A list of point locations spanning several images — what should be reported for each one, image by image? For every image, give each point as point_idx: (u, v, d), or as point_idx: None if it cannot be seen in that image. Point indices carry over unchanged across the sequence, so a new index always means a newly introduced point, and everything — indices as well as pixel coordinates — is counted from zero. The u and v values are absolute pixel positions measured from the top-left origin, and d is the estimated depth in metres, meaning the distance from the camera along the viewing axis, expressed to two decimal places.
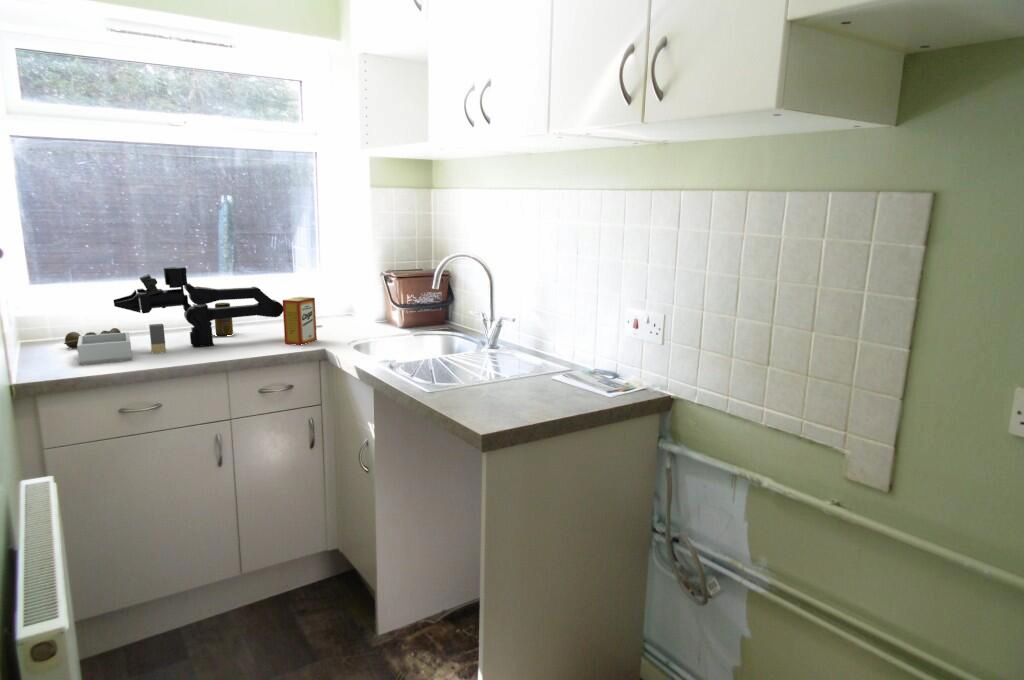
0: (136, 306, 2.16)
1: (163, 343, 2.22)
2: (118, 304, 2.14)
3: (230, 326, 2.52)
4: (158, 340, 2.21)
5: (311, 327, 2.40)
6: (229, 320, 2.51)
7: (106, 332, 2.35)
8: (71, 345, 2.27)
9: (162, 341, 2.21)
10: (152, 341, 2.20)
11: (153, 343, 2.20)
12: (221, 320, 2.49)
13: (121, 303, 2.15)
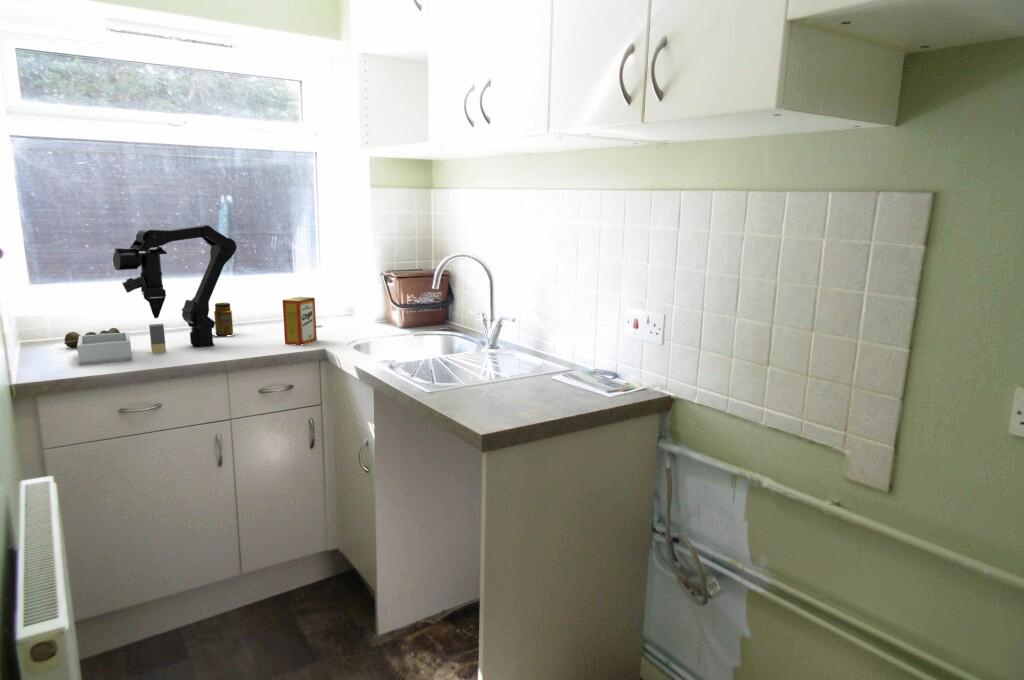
0: (158, 299, 2.15)
1: (163, 343, 2.22)
2: (155, 314, 2.16)
3: (230, 326, 2.52)
4: (158, 340, 2.21)
5: (311, 327, 2.40)
6: (229, 320, 2.51)
7: (105, 332, 2.35)
8: (71, 345, 2.27)
9: (162, 341, 2.21)
10: (152, 341, 2.20)
11: (153, 343, 2.20)
12: (221, 320, 2.49)
13: (155, 312, 2.16)
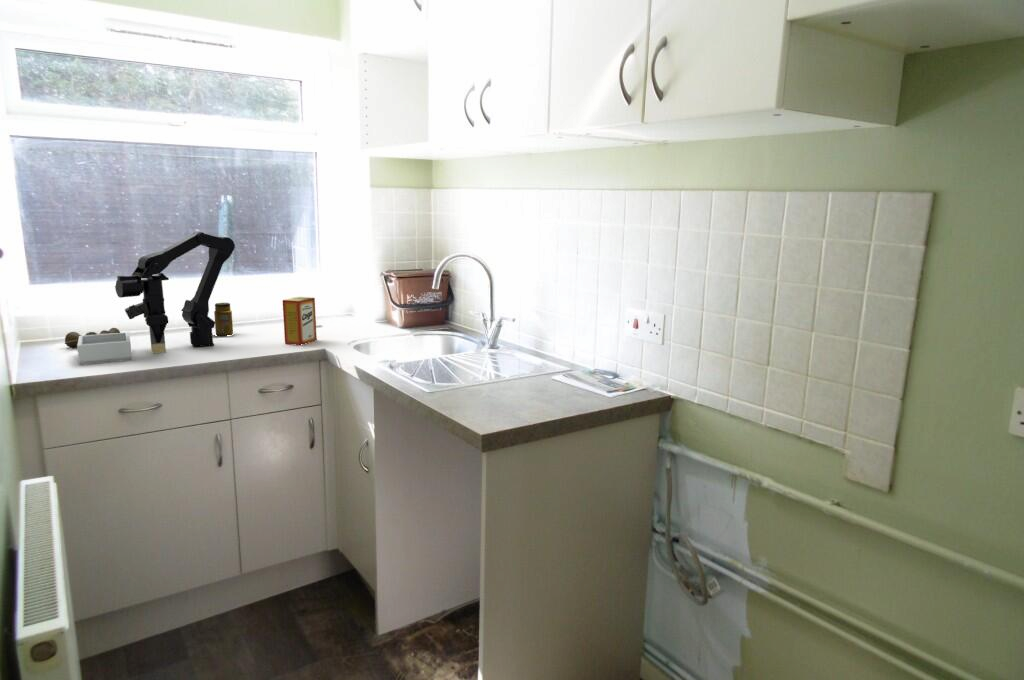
0: (160, 324, 2.19)
1: (163, 343, 2.22)
2: (158, 339, 2.20)
3: (230, 326, 2.52)
4: None
5: (311, 327, 2.40)
6: (229, 320, 2.51)
7: (106, 332, 2.35)
8: (71, 345, 2.27)
9: (162, 341, 2.21)
10: (152, 341, 2.20)
11: (153, 343, 2.20)
12: (221, 320, 2.49)
13: (157, 337, 2.20)
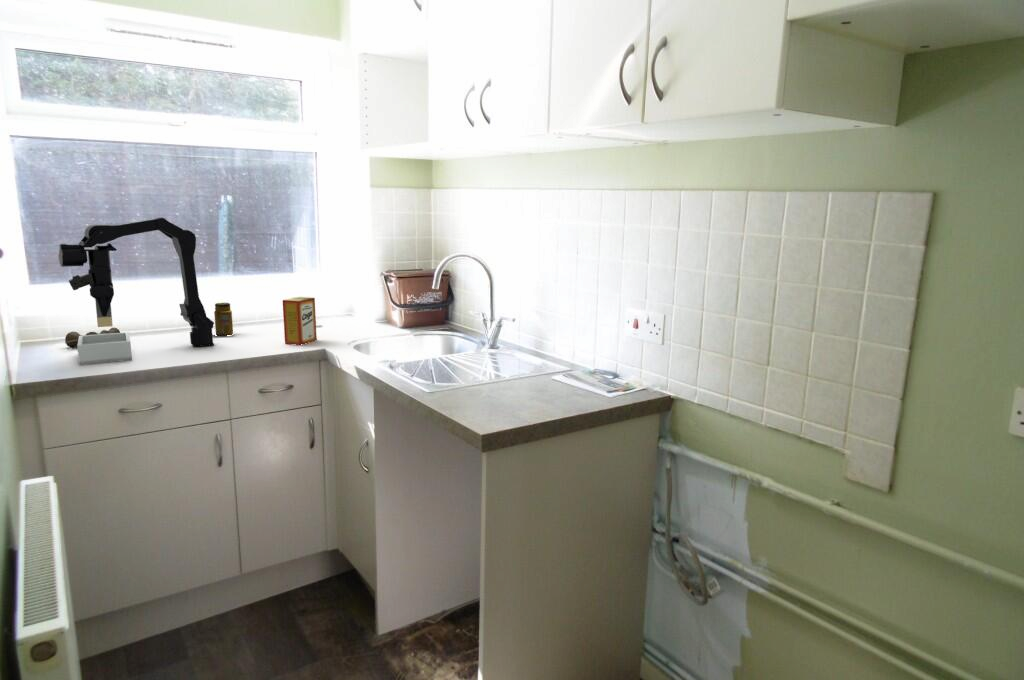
0: (106, 297, 2.09)
1: (109, 316, 2.12)
2: (103, 312, 2.10)
3: (230, 326, 2.52)
4: None
5: (311, 327, 2.40)
6: (229, 320, 2.51)
7: (106, 332, 2.36)
8: (71, 345, 2.28)
9: (108, 314, 2.11)
10: (97, 314, 2.10)
11: (99, 316, 2.10)
12: (221, 320, 2.49)
13: (103, 310, 2.10)
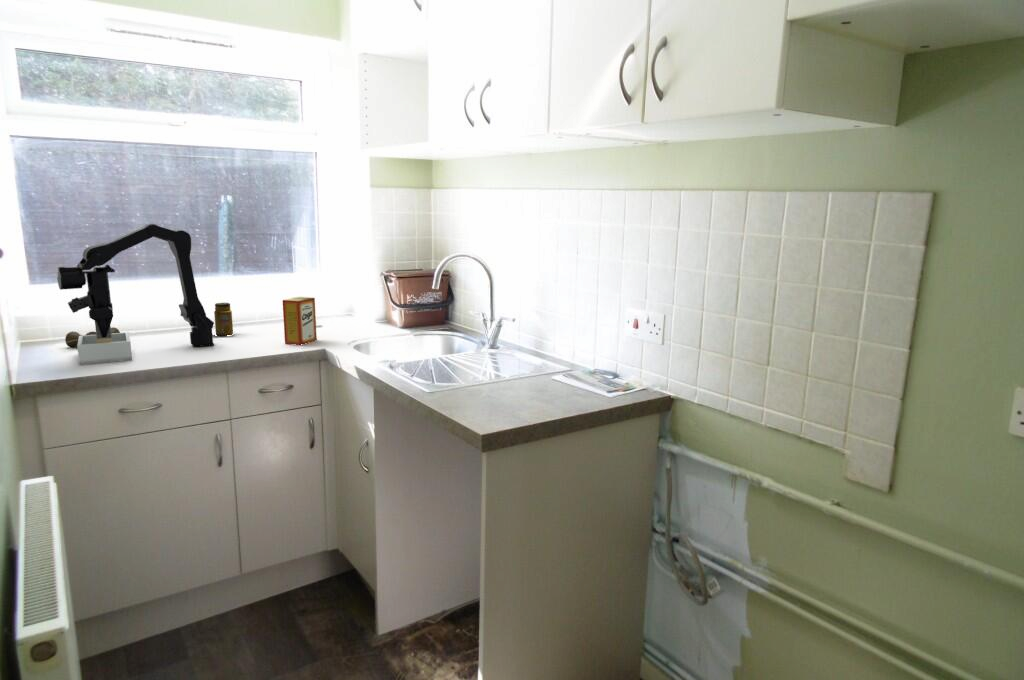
0: (105, 318, 2.10)
1: (109, 337, 2.12)
2: (103, 333, 2.11)
3: (230, 326, 2.52)
4: None
5: (311, 327, 2.40)
6: (229, 320, 2.51)
7: None
8: (71, 345, 2.28)
9: (108, 335, 2.12)
10: (97, 335, 2.11)
11: (98, 337, 2.11)
12: (221, 320, 2.49)
13: (102, 331, 2.11)
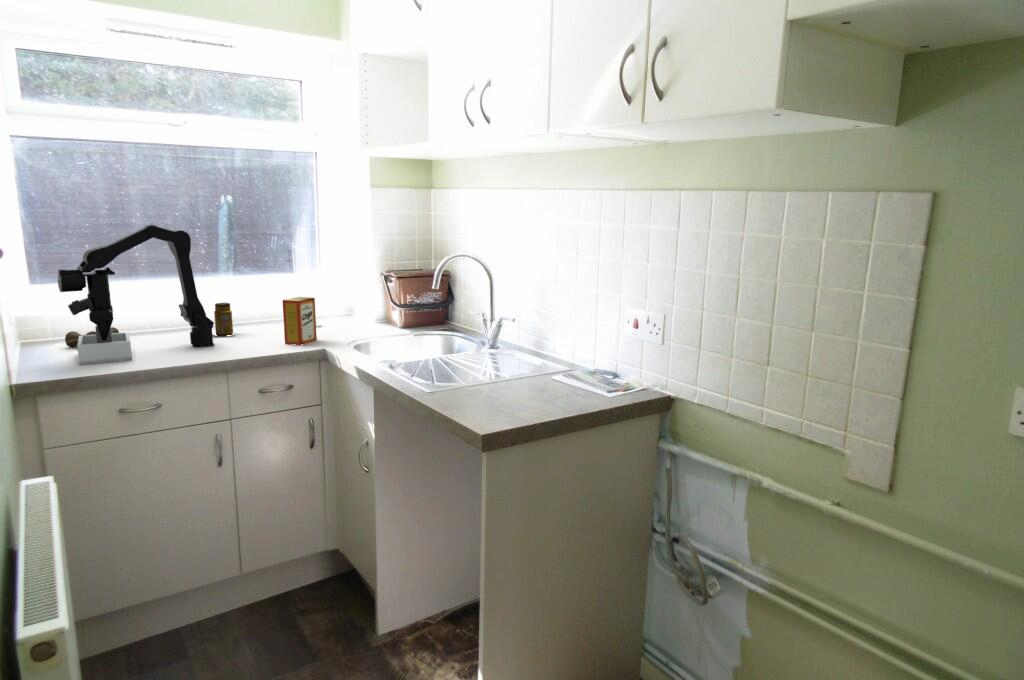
0: (106, 321, 2.09)
1: None
2: (103, 336, 2.10)
3: (230, 326, 2.52)
4: (104, 342, 2.12)
5: (311, 327, 2.40)
6: (229, 320, 2.51)
7: None
8: (71, 344, 2.28)
9: None
10: None
11: None
12: (221, 320, 2.49)
13: (102, 334, 2.10)
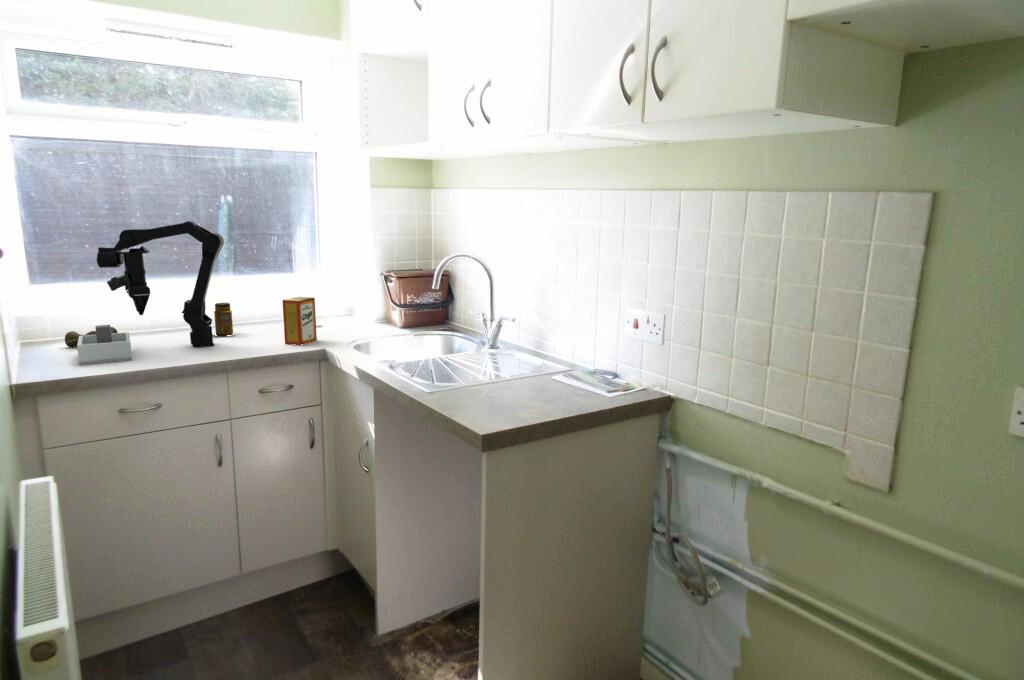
0: (143, 297, 2.22)
1: None
2: (140, 311, 2.23)
3: (230, 326, 2.52)
4: (104, 342, 2.12)
5: (311, 327, 2.40)
6: (229, 320, 2.51)
7: None
8: (71, 344, 2.28)
9: None
10: None
11: None
12: (221, 320, 2.49)
13: (140, 309, 2.23)
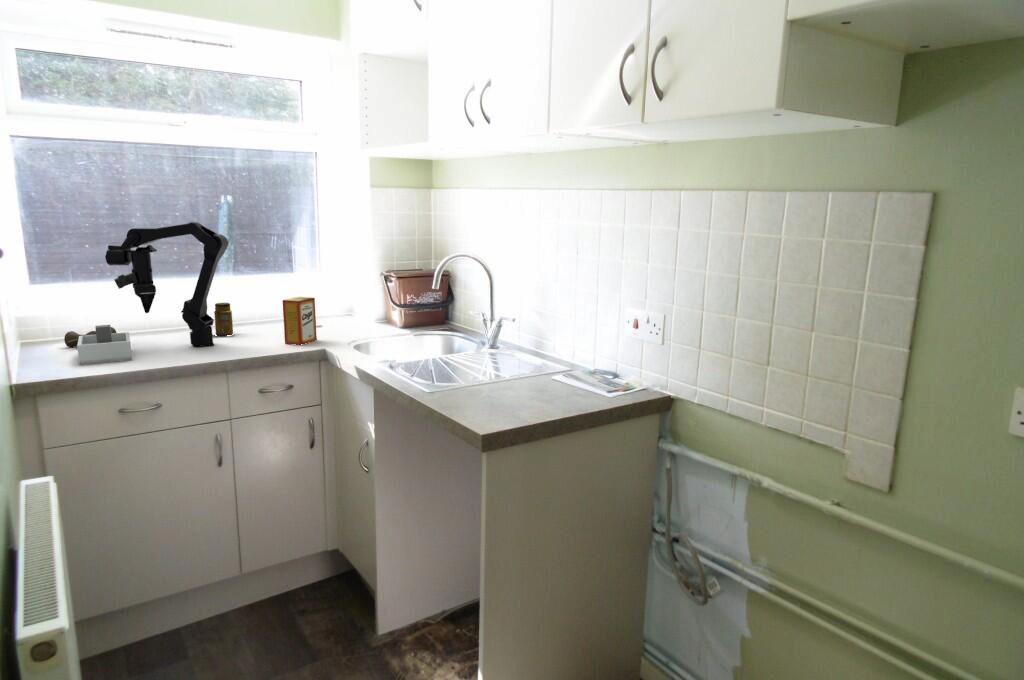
0: (148, 295, 2.25)
1: None
2: (146, 309, 2.26)
3: (230, 326, 2.52)
4: (104, 342, 2.12)
5: (311, 327, 2.40)
6: (229, 320, 2.51)
7: None
8: (71, 344, 2.28)
9: None
10: None
11: None
12: (221, 320, 2.49)
13: (145, 307, 2.26)
